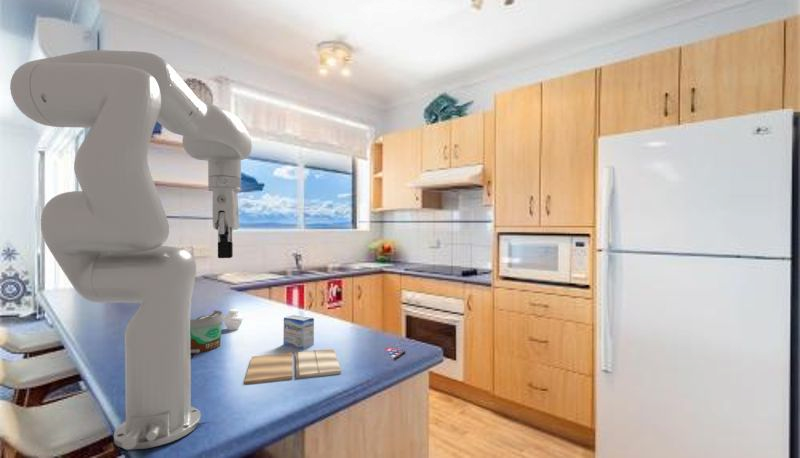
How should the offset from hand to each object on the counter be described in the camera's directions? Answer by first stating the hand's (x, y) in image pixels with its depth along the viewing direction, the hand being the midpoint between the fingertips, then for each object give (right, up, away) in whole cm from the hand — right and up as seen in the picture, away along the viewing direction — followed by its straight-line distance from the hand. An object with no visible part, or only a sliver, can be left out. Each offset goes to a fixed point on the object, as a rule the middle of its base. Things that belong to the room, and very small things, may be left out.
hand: (225, 257), depth 96 cm
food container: (-9, -27, +11) cm, 31 cm away
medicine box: (+15, -27, +14) cm, 34 cm away
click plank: (+13, -27, -4) cm, 30 cm away
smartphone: (+39, -28, +4) cm, 48 cm away
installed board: (+23, -27, -1) cm, 36 cm away
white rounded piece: (-13, -27, +33) cm, 44 cm away
